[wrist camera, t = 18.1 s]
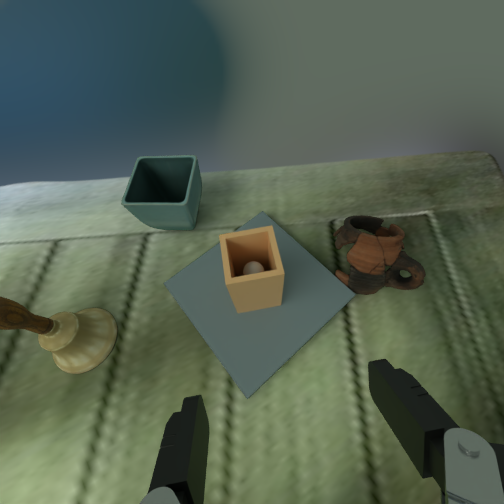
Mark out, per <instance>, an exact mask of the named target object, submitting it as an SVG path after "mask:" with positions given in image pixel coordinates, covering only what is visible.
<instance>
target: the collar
mask: <svg viewBox="0 0 504 504" xmlns="http://www.w3.org/2000/svg"><path fill="white" fill-rule="evenodd" d="M219 238H220V246H221V253H222V261H223V268H224V276H225V283H226V287H227V289H228V292H229V294H230V296H231V299H232V301H233V303H234V306H235V308H236V311H237V313H243V312H249V311H254V310H259V309H264V308H270V307H275V306H280V305H281V302H282V293H283V284H284V276H285V273H284V269H283V265H282V261H281V258H280V254H279V250H278V246H277V242H276V238H275V234H274V230H273V226H272V225H271V226H265V227H260V228H254V229H249V230H243V231H238V232H232V233H227V234H221V235H219ZM251 261H256V262H259V263H260V264H261V265H262V266H263V268H264V272H260V273H255V274H249V275H243V269H244V267H245V265H246V264H247V263H249V262H251Z"/></svg>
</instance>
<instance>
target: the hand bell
mask: <svg viewBox="0 0 504 504" xmlns="http://www.w3.org/2000/svg"><path fill="white" fill-rule="evenodd" d="M0 329H4V330H11V329H26V330H29V331H32V332H35V333H38V334H39V336H38V339H39V343H40V345H41V347H42V348H44V349H45V350H47V351H50V352H52V355H53V359H54V361H55V363H56V365H57V366H58V367H59V368H60V369H61V370H63V371H64V372H67V373H72V374H79V373H84V372H87V371H89V370H91V369H93V368H95V367H96V366H98V365H99V364H100V363H101V362H103V361H104V360H105V359H106V357H107V356H108V355H109V354H110V352H111V351H112V349H113V346H114V344H115V341H116V338H117V324H116V321H115V319H114V317H113V316H112V315H111V314H110V313H109V312H108V311H106V310H104V309H101V308H89V309H84V310H81V311H79V312H77V313H71V312H60V313H57V314H55V315H53V316H51V317H50V318H45V317H41V316H38V315H34V314H32V313H31V312H29V311H28V310H27V309H26V308H25V307H24V306H22V305H20V304H19V303H17V302H15V301H12V300H10V299H7V298H3V297H0Z"/></svg>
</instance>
